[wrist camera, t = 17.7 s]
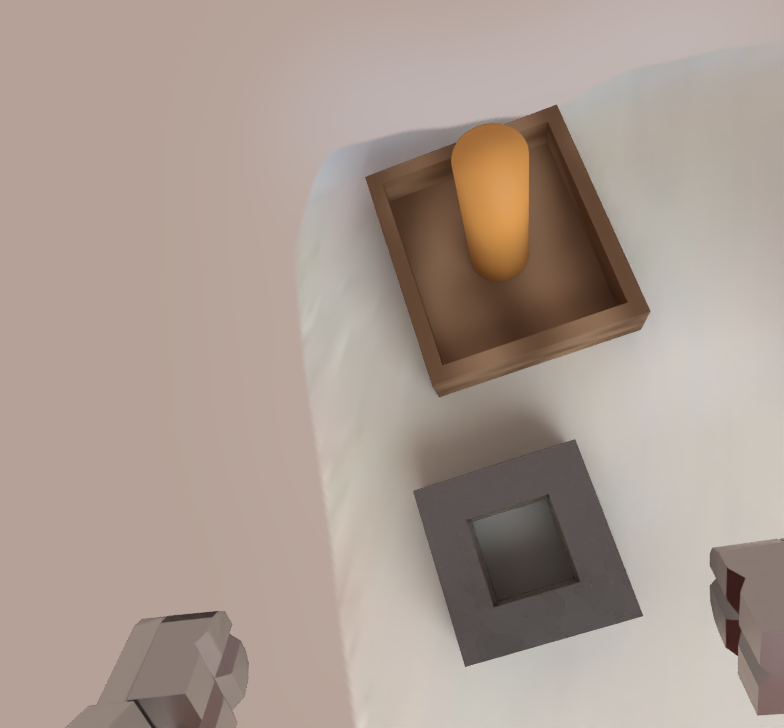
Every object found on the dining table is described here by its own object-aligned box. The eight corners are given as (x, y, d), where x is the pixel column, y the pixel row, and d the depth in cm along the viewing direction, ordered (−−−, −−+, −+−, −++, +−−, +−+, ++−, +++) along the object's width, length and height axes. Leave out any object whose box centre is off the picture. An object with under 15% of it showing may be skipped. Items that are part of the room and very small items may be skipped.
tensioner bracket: (570, 448, 42) (575, 439, 38) (632, 608, 38) (643, 616, 35) (423, 495, 43) (413, 491, 39) (471, 655, 39) (465, 666, 36)
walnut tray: (554, 135, 48) (556, 104, 44) (640, 329, 43) (650, 311, 39) (376, 201, 49) (365, 177, 46) (439, 396, 44) (432, 384, 41)
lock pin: (517, 220, 45) (514, 112, 34) (537, 270, 44) (540, 175, 33) (462, 240, 46) (441, 139, 34) (480, 289, 44) (464, 202, 33)
